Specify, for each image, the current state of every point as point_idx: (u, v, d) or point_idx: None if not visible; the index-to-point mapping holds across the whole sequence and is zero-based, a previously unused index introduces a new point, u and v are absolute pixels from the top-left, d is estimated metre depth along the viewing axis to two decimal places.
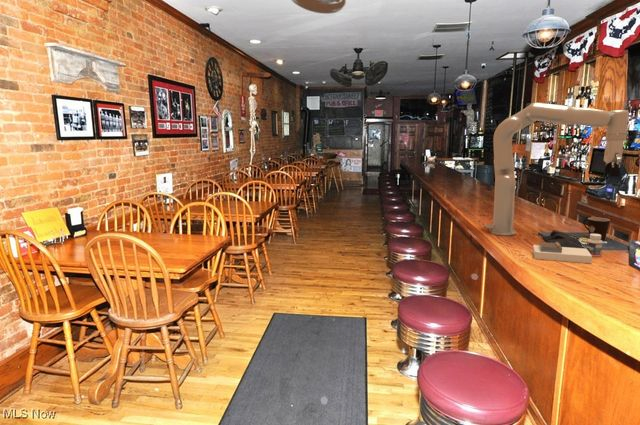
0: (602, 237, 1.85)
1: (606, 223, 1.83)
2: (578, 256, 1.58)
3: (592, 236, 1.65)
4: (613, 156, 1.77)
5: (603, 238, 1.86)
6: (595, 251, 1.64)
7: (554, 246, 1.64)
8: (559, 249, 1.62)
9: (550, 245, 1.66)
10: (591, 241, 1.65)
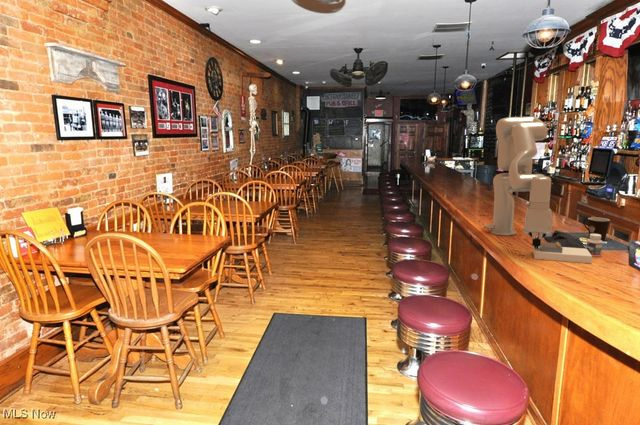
0: (602, 237, 1.85)
1: (606, 223, 1.83)
2: (578, 256, 1.58)
3: (592, 236, 1.65)
4: (551, 225, 1.64)
5: (603, 238, 1.86)
6: (595, 251, 1.64)
7: (554, 246, 1.64)
8: (559, 249, 1.62)
9: (550, 245, 1.66)
10: (591, 241, 1.65)
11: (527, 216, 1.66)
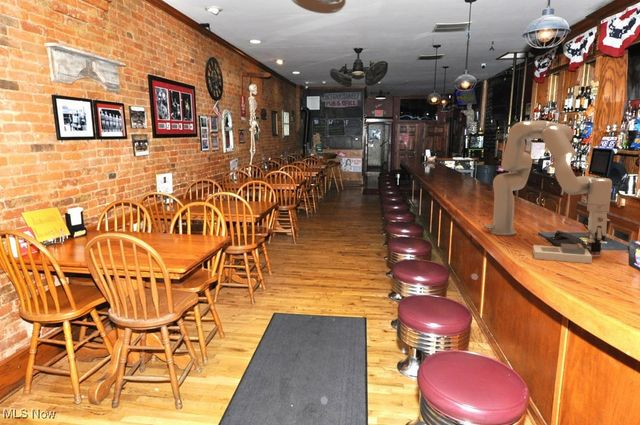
0: (602, 237, 1.85)
1: None
2: (578, 256, 1.58)
3: (592, 236, 1.65)
4: None
5: (603, 238, 1.86)
6: None
7: (576, 248, 1.61)
8: (582, 251, 1.59)
9: (572, 247, 1.62)
10: (591, 241, 1.65)
11: (606, 220, 1.59)
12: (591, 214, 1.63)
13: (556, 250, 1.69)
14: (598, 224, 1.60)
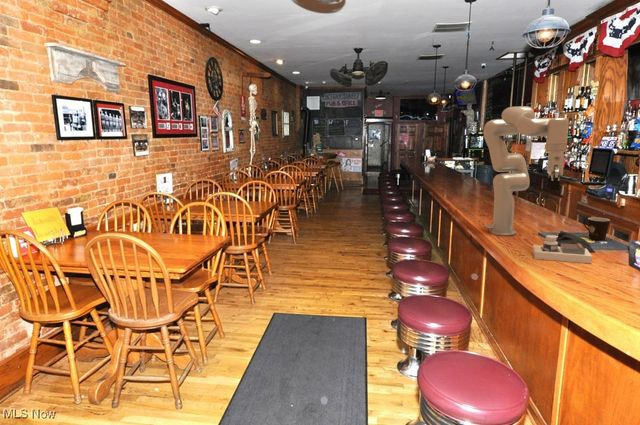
0: (602, 237, 1.85)
1: (606, 223, 1.83)
2: (578, 256, 1.58)
3: (548, 238, 1.65)
4: None
5: (603, 238, 1.86)
6: None
7: (576, 248, 1.61)
8: (582, 251, 1.59)
9: (572, 247, 1.62)
10: (547, 243, 1.65)
11: (563, 159, 1.60)
12: (549, 154, 1.64)
13: None
14: (555, 163, 1.61)
